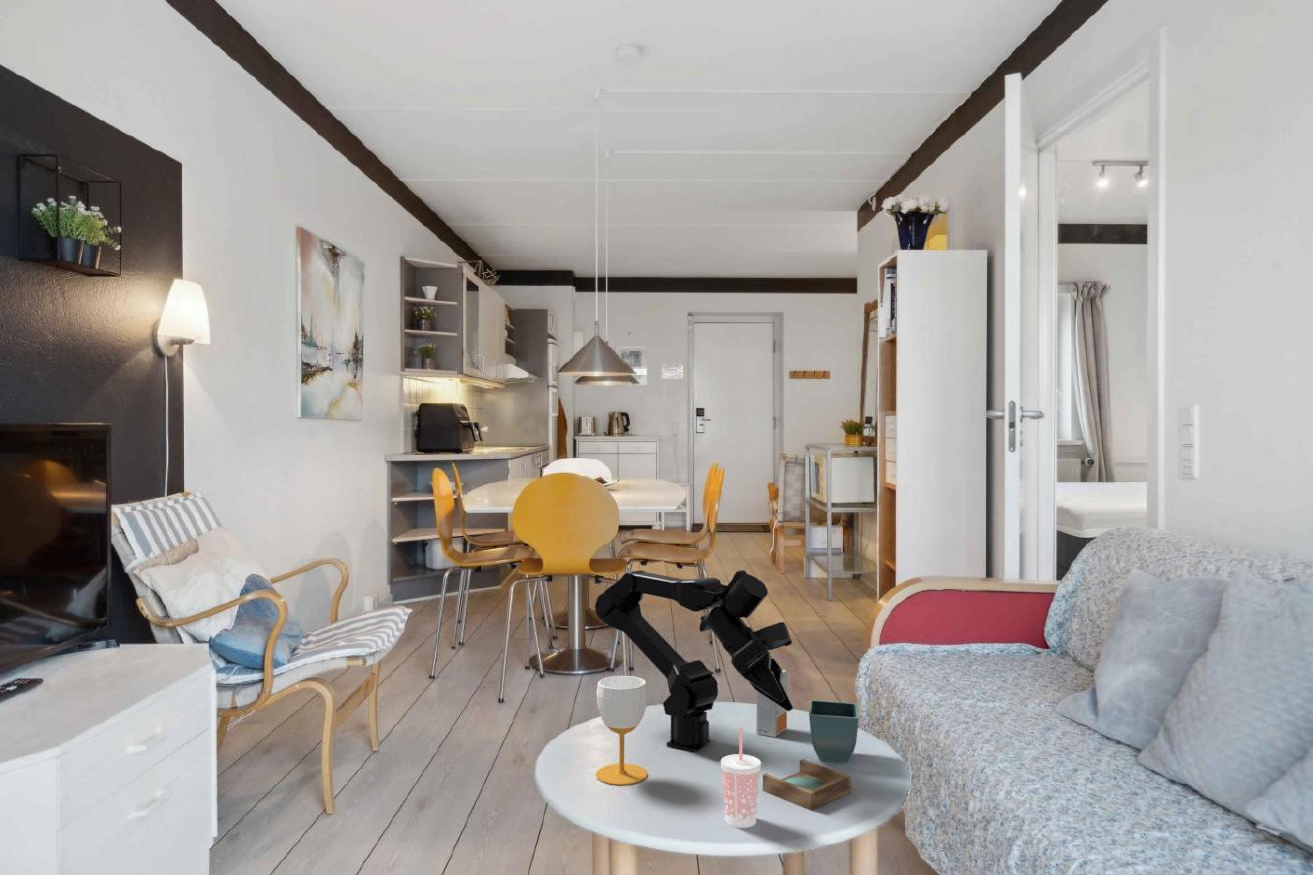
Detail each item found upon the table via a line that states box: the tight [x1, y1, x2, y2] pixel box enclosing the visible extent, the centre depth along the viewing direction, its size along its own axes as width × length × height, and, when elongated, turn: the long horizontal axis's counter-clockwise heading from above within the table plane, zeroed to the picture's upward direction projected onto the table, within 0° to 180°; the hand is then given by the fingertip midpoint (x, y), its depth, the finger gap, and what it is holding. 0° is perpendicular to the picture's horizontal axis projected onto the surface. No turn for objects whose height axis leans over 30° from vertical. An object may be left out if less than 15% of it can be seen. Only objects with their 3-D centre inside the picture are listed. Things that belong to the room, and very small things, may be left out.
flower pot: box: [808, 699, 860, 763], centre depth 150 cm, size 9×9×9 cm
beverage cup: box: [720, 727, 762, 829], centre depth 124 cm, size 6×6×14 cm
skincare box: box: [755, 669, 788, 738], centre depth 163 cm, size 6×4×12 cm
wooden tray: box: [762, 758, 852, 811], centre depth 135 cm, size 10×11×3 cm
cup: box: [595, 675, 649, 786], centre depth 141 cm, size 9×9×16 cm
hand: (787, 705), depth 140 cm, fingers open, 9 cm apart
